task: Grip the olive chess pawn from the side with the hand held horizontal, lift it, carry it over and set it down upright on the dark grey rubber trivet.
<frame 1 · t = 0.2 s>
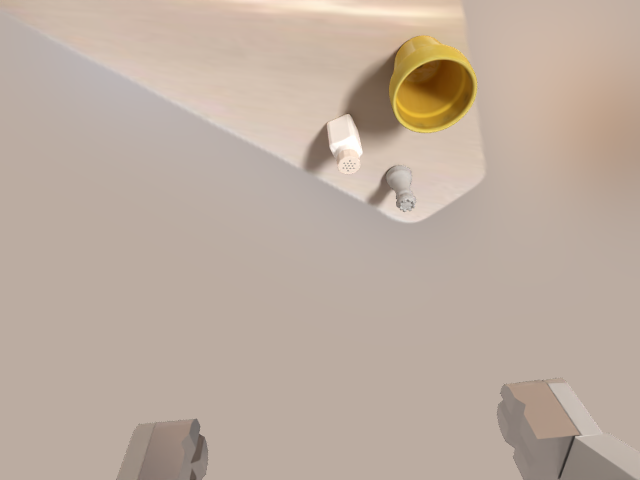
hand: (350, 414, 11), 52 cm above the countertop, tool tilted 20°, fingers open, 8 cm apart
rook chess piece: (397, 173, 73), on the countertop
salt shaker: (342, 125, 65), on the countertop
plant pot: (417, 59, 58), on the countertop
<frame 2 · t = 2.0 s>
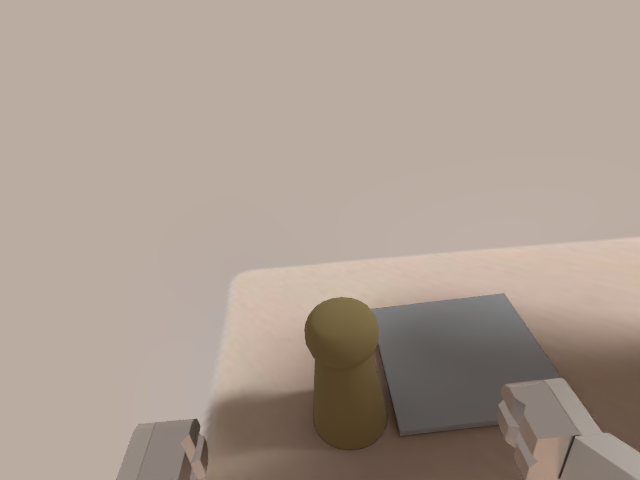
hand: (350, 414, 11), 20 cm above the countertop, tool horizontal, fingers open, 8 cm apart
rubber trivet: (459, 356, 38), on the countertop
olive chess pawn: (350, 416, 34), on the countertop
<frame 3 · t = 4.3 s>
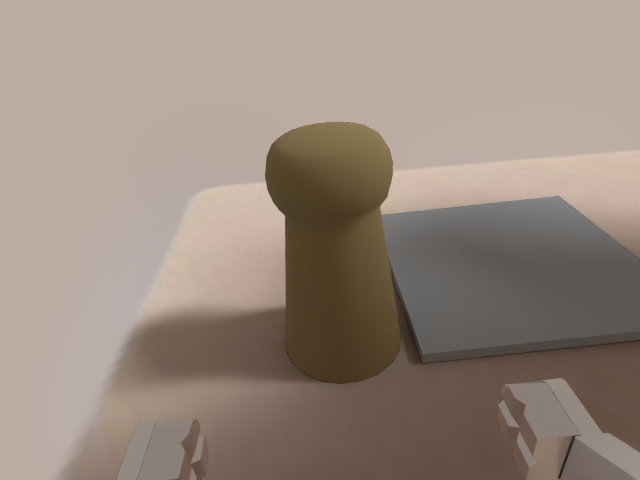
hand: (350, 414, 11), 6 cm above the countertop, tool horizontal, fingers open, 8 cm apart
rubber trivet: (505, 264, 26), on the countertop
olive chess pawn: (343, 339, 22), on the countertop
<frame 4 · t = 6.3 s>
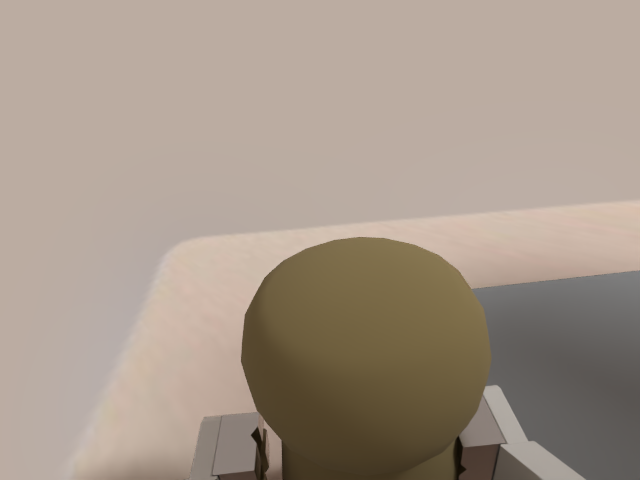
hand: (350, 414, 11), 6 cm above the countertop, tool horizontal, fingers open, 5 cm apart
rubber trivet: (602, 392, 18), on the countertop
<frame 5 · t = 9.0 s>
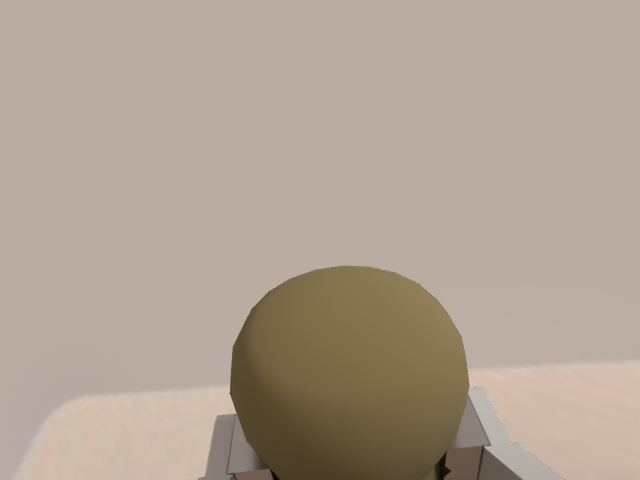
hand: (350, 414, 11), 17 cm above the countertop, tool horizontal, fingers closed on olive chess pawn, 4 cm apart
when the fingers open (8 cm above the countertop, at t = 11.0 s): olive chess pawn moves 2 cm, resting on rubber trivet.
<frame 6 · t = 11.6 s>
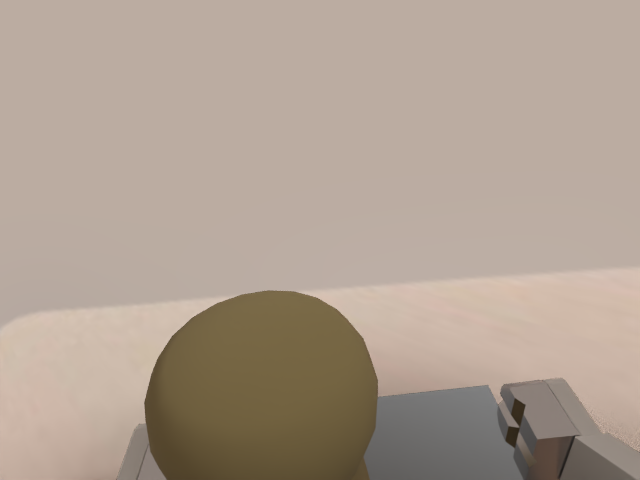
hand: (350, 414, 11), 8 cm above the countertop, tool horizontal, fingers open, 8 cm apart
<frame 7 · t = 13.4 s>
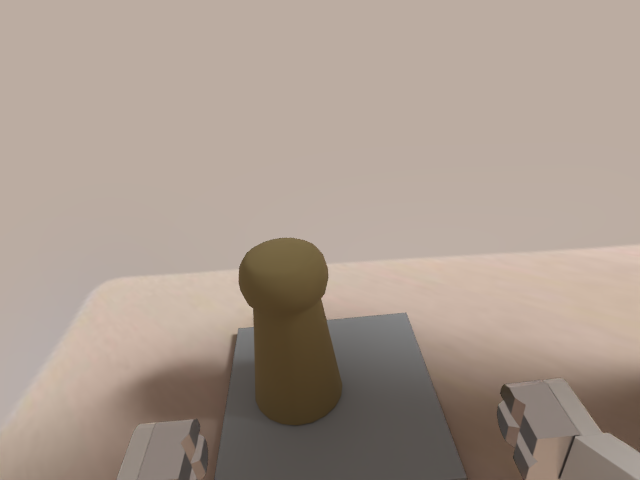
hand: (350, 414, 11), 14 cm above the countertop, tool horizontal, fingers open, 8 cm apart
rubber trivet: (329, 393, 29), on the countertop
olive chess pawn: (298, 389, 29), resting on rubber trivet
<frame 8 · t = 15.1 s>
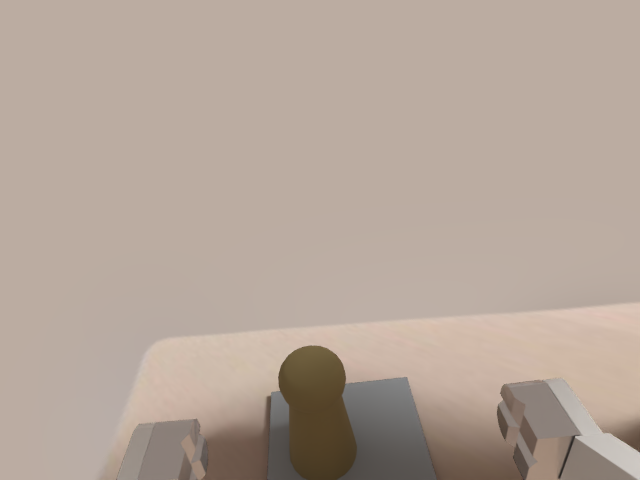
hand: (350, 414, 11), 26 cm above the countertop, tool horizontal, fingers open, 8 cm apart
rubber trivet: (347, 452, 38), on the countertop
olive chess pawn: (323, 450, 38), resting on rubber trivet
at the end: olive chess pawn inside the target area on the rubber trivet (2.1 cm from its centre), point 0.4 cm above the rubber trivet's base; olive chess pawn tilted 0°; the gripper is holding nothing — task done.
